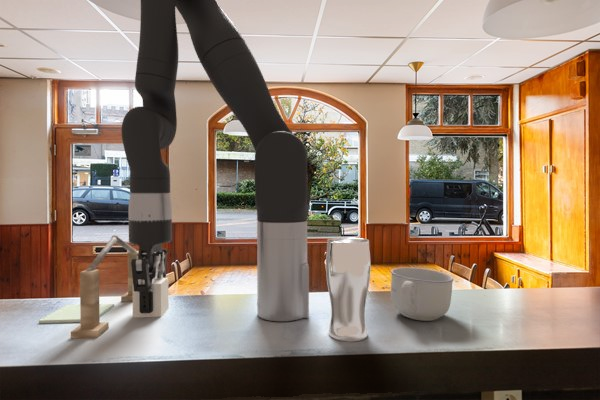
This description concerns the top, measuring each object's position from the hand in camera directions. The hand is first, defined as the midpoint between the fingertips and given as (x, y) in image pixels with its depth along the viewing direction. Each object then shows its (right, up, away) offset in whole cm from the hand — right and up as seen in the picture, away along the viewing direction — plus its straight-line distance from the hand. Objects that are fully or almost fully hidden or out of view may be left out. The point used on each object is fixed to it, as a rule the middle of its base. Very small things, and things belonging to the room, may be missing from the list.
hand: (151, 307), depth 71 cm
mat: (-13, -1, -1) cm, 13 cm away
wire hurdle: (-7, -1, 0) cm, 7 cm away
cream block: (0, -1, 0) cm, 1 cm away
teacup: (+49, -1, -3) cm, 49 cm away
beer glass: (+35, -1, -11) cm, 37 cm away
